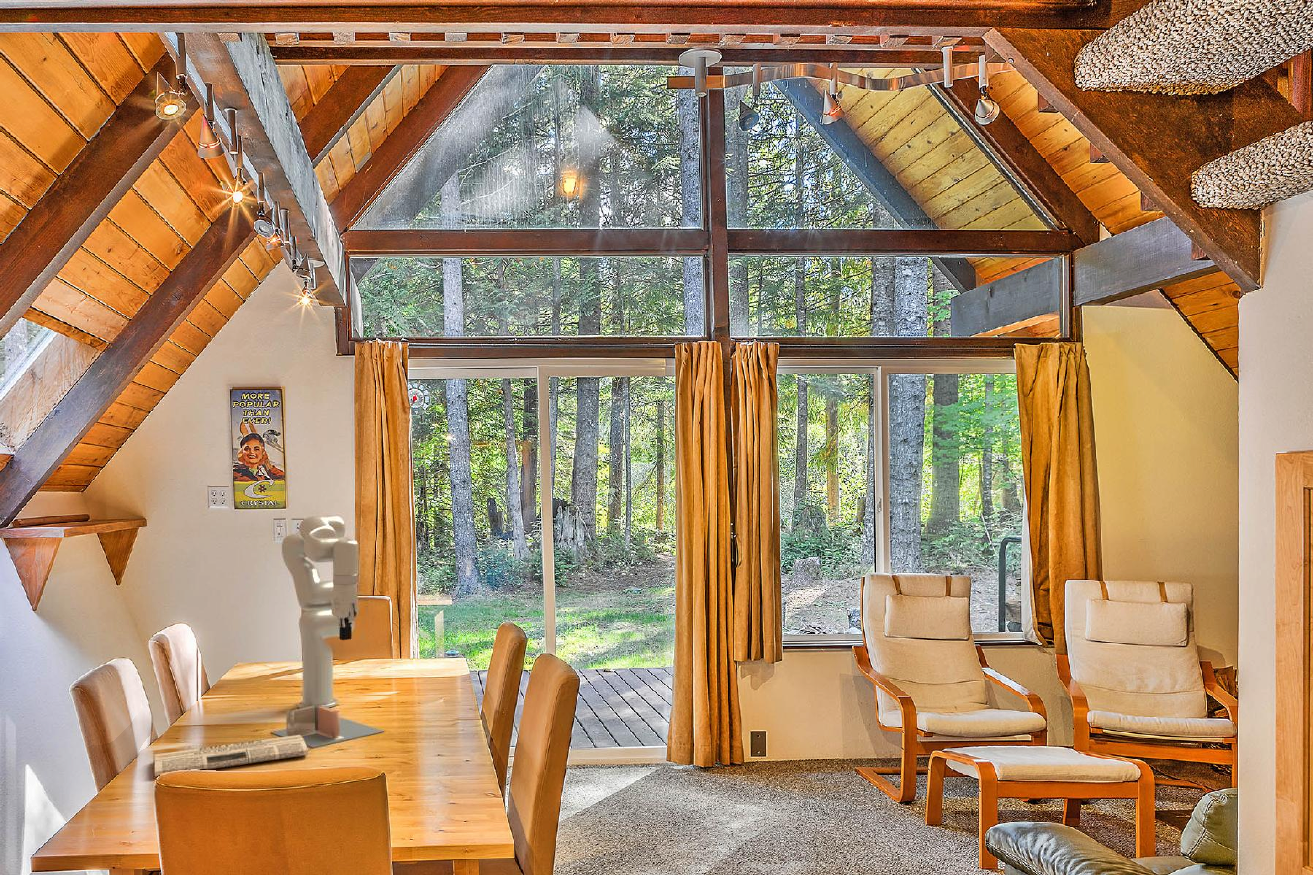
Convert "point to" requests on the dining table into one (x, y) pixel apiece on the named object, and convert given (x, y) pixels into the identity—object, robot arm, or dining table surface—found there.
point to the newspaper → (231, 754)
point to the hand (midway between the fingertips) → (345, 639)
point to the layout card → (346, 733)
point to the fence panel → (327, 721)
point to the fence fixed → (300, 721)
